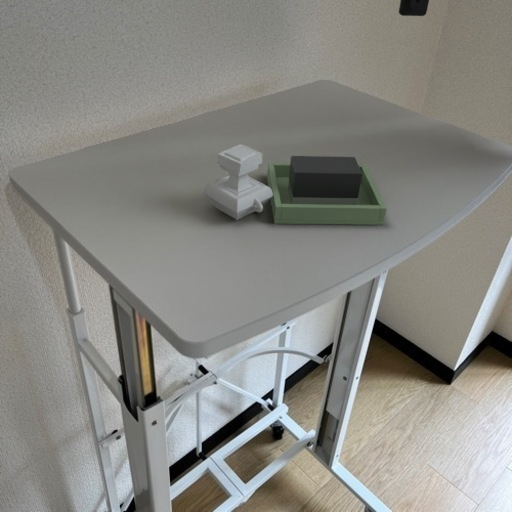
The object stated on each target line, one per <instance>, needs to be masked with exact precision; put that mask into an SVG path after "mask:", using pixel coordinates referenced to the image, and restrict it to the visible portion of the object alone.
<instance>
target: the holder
mask: <svg viewBox="0 0 512 512" xmlns="http://www.w3.org/2000/svg"><path fill="white" fill-rule="evenodd" d="M358 165H359V167H360V170H361V172H362V179H361V184H360V190H359V195H358V201H357V205H322V204H292V203H291V199H290V194H289V189H288V182H289V172H290V162H268V163H267V170H266V171H267V174H266V180H267V186H268V187H270V188H271V190H272V192H273V196H272V197H271V198H270V200H269V201H270V205H271V212H272V213H271V214H272V217H273V218H272V219H273V224H275V225H277V224H278V225H356V226H357V225H359V226H360V225H361V226H363V225H364V226H366V225H367V226H368V225H369V226H383V225H384V224H385V218H386V213H387V206H386V204H385V201H384V199H383V197H382V195H381V194H380V191H379V189H378V187H377V185H376V182H375V181H374V178H373V177H372V175H371V173H370V171H369V170H370V169H368V166H367V165H366V164H365V163H361V164H359V163H358Z"/></svg>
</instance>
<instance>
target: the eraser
mask: <svg viewBox="0 0 512 512" xmlns="http://www.w3.org/2000/svg"><path fill="white" fill-rule="evenodd" d="M289 163H290V172H289V182H288V189H289V194H290V199H291V203H292V204H322V205H357V201H358V195H359V190H360V184H361V179H362V172H361V170H360V167H359V165H358V164H359V163H358V160H357V158H356V156H355V157H354V156H326V155H325V156H323V155H322V156H320V155H319V156H318V155H291V156H290V162H289Z"/></svg>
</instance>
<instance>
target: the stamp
mask: <svg viewBox="0 0 512 512" xmlns="http://www.w3.org/2000/svg"><path fill="white" fill-rule="evenodd" d="M216 164H218V166H219V168H220V169H221V170H222V171H223V170H224V171H226V172H227V173H228V175H226V176H224V177H221V178H219V179H216V180H214V181H212V182H210V183H207V184H206V185H205V186H204V187H203V191H202V193H203V195H204V196H205V198H207V199H208V201H209V202H211V204H212V205H213V207H215V208H216V209H217V210H219V211H221V212H223V213H224V214H226V215H228V216H229V217H231V218H233V219H234V220H235V221H238V220H240V219H242V218H244V217H246V216H248V215H251V214H252V213H254V212H256V213H262V212H263V210H264V205H265V204H266V203H267V202H269V201H271V200H270V198H271V197H272V196H273V192H272V190H271V188H270V187H268V185H267V184H264V183H263V182H261V181H258V180H256V179H255V178H253V177H251V176H249V175H250V173H253V172H256V171H258V169H259V168H260V165H261V164H263V152H260V151H258V150H255V149H253V148H252V147H249V146H247V145H244V144H242V143H239V144H237V145H235V146H232V147H230V148H228V149H225V150H224V151H221V152H219V153H217V159H216Z"/></svg>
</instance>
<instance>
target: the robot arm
mask: <svg viewBox="0 0 512 512" xmlns="http://www.w3.org/2000/svg"><path fill="white" fill-rule="evenodd" d="M429 2H430V0H400V2H399V8H398V14H399V15H401V16H404V17H424V16H426V15H427V13H428V7H429Z"/></svg>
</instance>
